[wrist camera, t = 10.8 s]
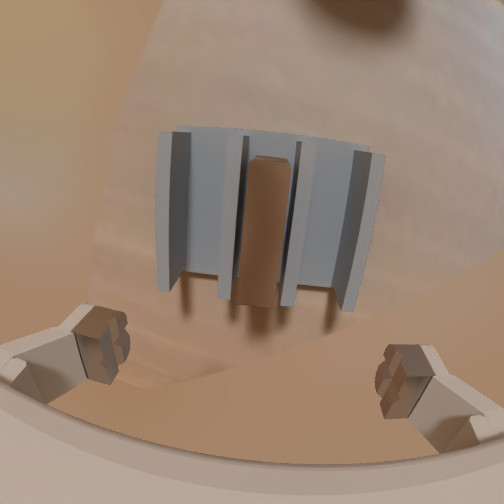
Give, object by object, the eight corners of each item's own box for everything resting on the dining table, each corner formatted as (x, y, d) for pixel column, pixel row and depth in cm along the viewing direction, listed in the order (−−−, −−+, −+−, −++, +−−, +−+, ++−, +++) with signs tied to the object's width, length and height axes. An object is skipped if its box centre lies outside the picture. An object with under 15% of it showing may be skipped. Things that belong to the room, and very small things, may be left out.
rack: (366, 146, 24) (390, 149, 19) (341, 283, 29) (355, 317, 23) (180, 126, 25) (155, 124, 19) (175, 265, 30) (154, 295, 24)
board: (286, 158, 24) (291, 167, 17) (274, 261, 28) (273, 308, 20) (256, 155, 24) (248, 162, 17) (247, 258, 28) (236, 304, 20)
